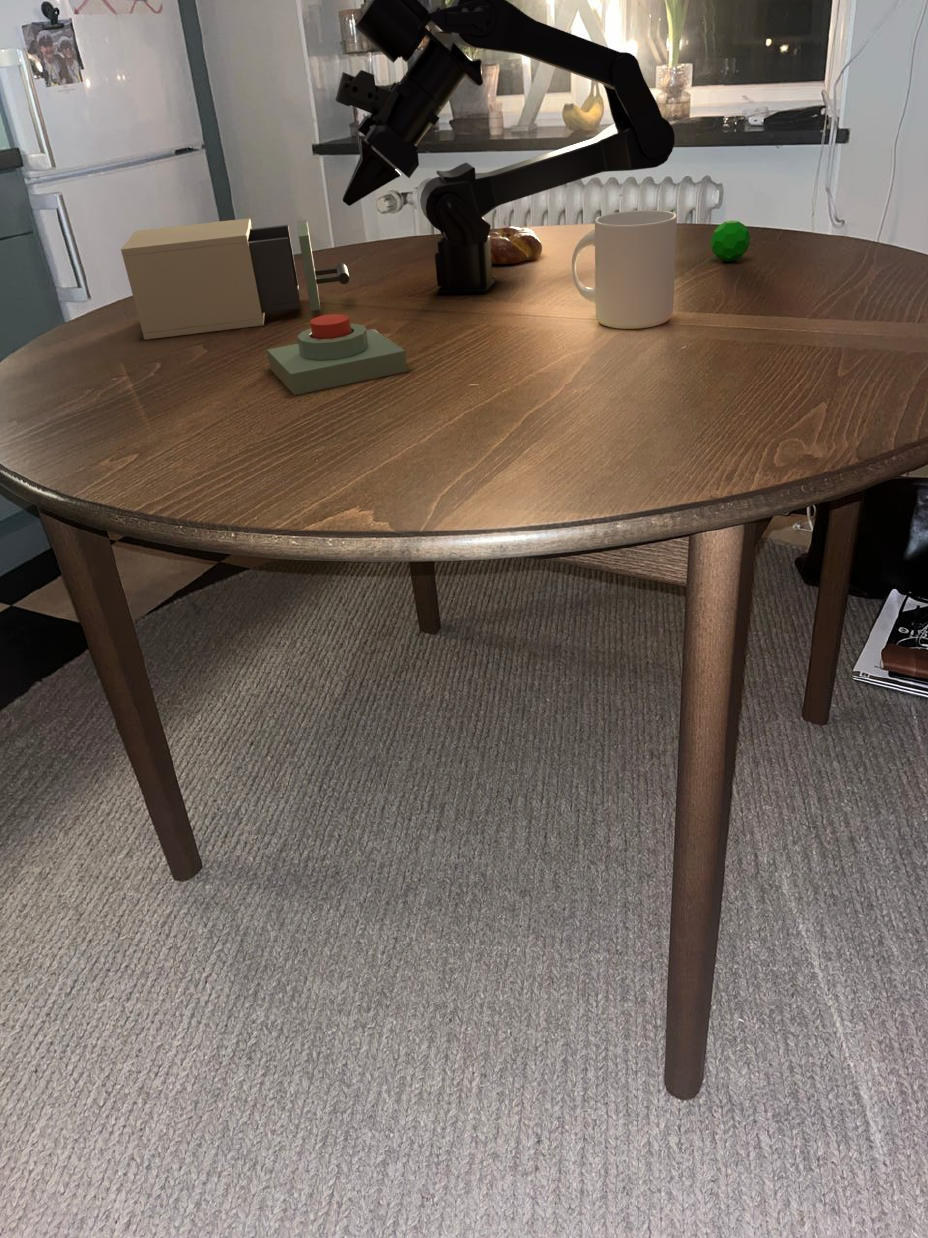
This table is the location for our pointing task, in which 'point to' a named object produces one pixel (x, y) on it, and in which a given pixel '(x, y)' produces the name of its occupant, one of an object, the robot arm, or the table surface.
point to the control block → (336, 360)
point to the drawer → (286, 268)
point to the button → (330, 326)
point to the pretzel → (514, 245)
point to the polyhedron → (730, 240)
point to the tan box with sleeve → (193, 278)
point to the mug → (631, 268)
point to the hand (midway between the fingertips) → (345, 202)
